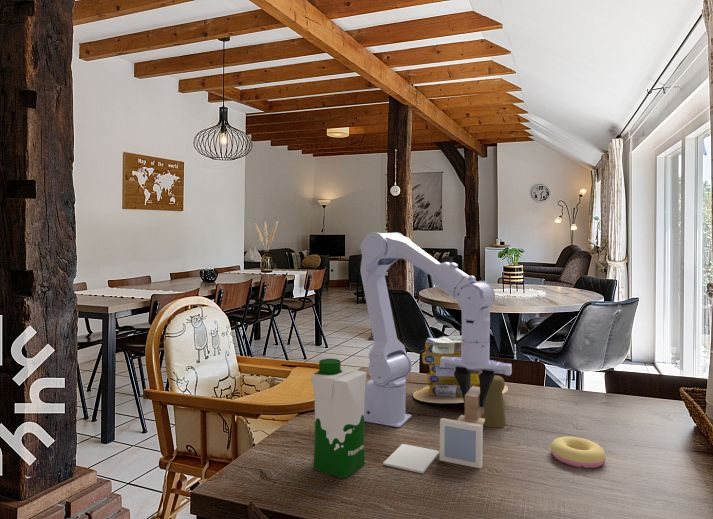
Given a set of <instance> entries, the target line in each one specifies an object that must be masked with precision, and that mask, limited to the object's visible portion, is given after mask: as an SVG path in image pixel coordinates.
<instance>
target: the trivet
mask: <svg viewBox="0 0 713 519" xmlns="http://www.w3.org/2000/svg"><path fill="white" fill-rule="evenodd" d="M439 455H440V450H436V449H431V448H427V447H426V448H425V447H422V446H417V445H416V446H415V445H410V444H406V443H401V444H400V445H399V446H398V448H396V449H395V450H394V451H393V452H392V453H391V454H390V456H389V457H387V458H386V459H385V460H384V461H383V463H382V465H383V466H387V467H391V468H396V469H399V470H405V471H409V472H414V473H418V474H424V473H425V472H426V471H427V469H428V468H429V467H430V465H431V464H432V463H433V462H434V460H436V458H437V457H438V456H439Z"/></svg>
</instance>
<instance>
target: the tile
mask: <svg viewBox="0 0 713 519" xmlns="http://www.w3.org/2000/svg"><path fill="white" fill-rule="evenodd" d="M457 420H458V419H456V420H455V419H450V418H446V417H445V418H444V417H441V418H440V420H439V451H440V453H439V461H443V462H447V463H452V464H456V465H463V466H466V467H472V468H475V469H482V467H483V448H484V447H483V445H484V444H483V437H484V436H483V435H484V432H483V431H484V430H483V429H484V425H481V424H475V423H469V422H463V421H457Z"/></svg>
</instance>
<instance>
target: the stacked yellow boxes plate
mask: <svg viewBox="0 0 713 519" xmlns="http://www.w3.org/2000/svg"><path fill="white" fill-rule="evenodd" d="M461 342H462V334H461V335H459V334H458V335H457V334H454V335H453V334H451V335H446V336H444V335H442V336H439V337H438V338H436V337H435V338H433V337H427V339H426V340H425V343H424V348H425V351H423V352H422V353H421V360H422V363H423V365H428V367H429V371H428V372H426V381H427V383H428V384H429V385H427V386H425V387H424V386H423V387H422V388H423V389H422V388H420V389H421V390H419V389H418V390H419V391H417V390H415V391H416V392H415V391H414V392H413V393H412V397H413V398H414V399H415V400H418V401H420V402H426V403H432V404H434V403H435V404H458V403H459V404H460V403H464V400H463V395H462V392H461V389H460V386H459V384H458V381H457V379H456V378H455V376H454V372H455V370H456V368H450V367H445V368H443V367H440V358H442V357H461ZM481 373H482V371H475V370H471V377H470V388H471V387H472V386H475V387H480V382H479V375H480V374H481ZM508 390H509V387H508V385H506V384H505V387H504V389H503V391H502V394H505V393H506V392H508Z"/></svg>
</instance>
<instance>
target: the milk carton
mask: <svg viewBox="0 0 713 519" xmlns="http://www.w3.org/2000/svg"><path fill="white" fill-rule="evenodd" d="M318 368H319V370H317V372H314V373H313V374H311V375H310V381H311V385H312V386H311V387H312V389H313V390H312V392H313V395H314V448H313V449H314V450H313V451H314V452H313V468H312V469H313V470H315V471H318V472H321V473H325V474H327V475H330V476H331V475H332V476H334V477H337V478H342V479H343V480H345V479H346V478H348V477H349V476H351V475H352V474H353V473H355V472H357V471H358V470H359V469H360V468H362V467H363V466H364V465H365V421H364V394H365V385H366V383H367V374H368V372H366V371H361V370H357V369H353V368H346V367H342V366H341V360H340V359H338V358H324V359H320V360H319V363H318Z"/></svg>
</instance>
